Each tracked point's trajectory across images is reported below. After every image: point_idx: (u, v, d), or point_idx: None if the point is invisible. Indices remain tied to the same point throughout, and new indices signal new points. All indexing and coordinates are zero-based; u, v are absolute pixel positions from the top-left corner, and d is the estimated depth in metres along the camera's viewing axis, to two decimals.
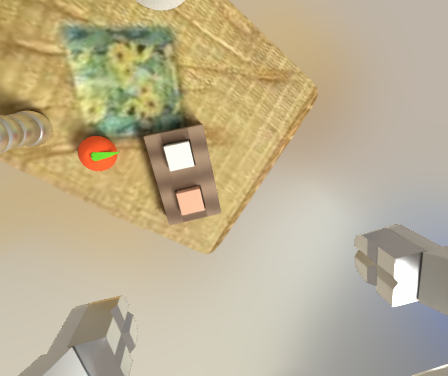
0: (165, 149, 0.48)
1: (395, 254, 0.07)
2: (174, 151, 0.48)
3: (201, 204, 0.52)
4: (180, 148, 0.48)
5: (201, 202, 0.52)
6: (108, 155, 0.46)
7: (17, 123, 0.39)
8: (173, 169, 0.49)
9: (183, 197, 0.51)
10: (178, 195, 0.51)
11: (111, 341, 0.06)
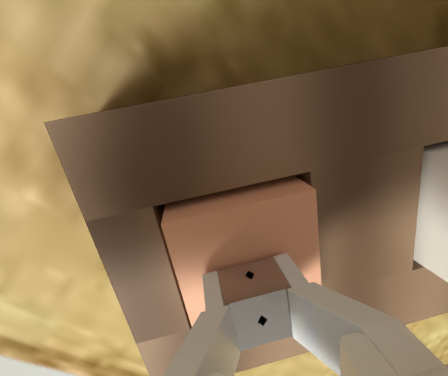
0: None
1: (261, 290, 0.07)
2: None
3: None
4: None
5: None
6: None
7: None
8: None
9: (288, 231, 0.08)
10: (305, 202, 0.08)
11: (258, 301, 0.07)
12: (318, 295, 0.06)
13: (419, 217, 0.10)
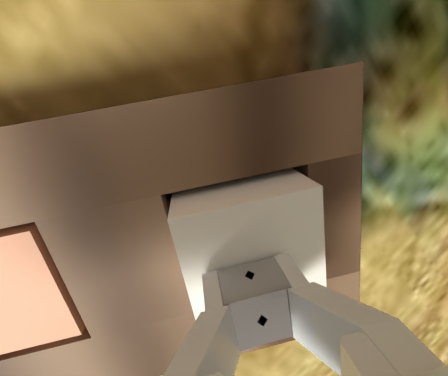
0: (307, 196, 0.08)
1: (261, 290, 0.07)
2: (288, 241, 0.08)
3: None
4: None
5: (1, 348, 0.10)
6: None
7: None
8: (180, 239, 0.08)
9: (14, 267, 0.09)
10: (22, 242, 0.09)
11: (258, 301, 0.07)
12: (319, 294, 0.06)
13: None
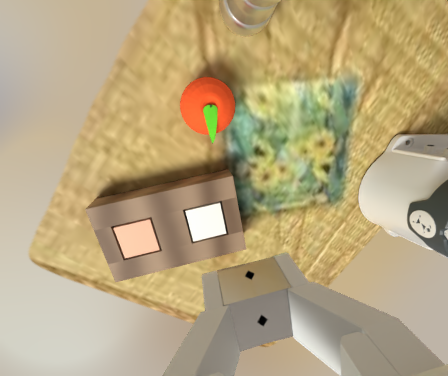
0: (216, 205, 0.35)
1: (261, 290, 0.07)
2: (213, 215, 0.35)
3: (134, 253, 0.35)
4: (217, 223, 0.36)
5: (137, 253, 0.35)
6: (211, 131, 0.29)
7: (277, 2, 0.23)
8: (188, 215, 0.34)
9: (144, 229, 0.34)
10: (147, 222, 0.34)
11: (258, 301, 0.07)
12: (319, 295, 0.06)
13: None
